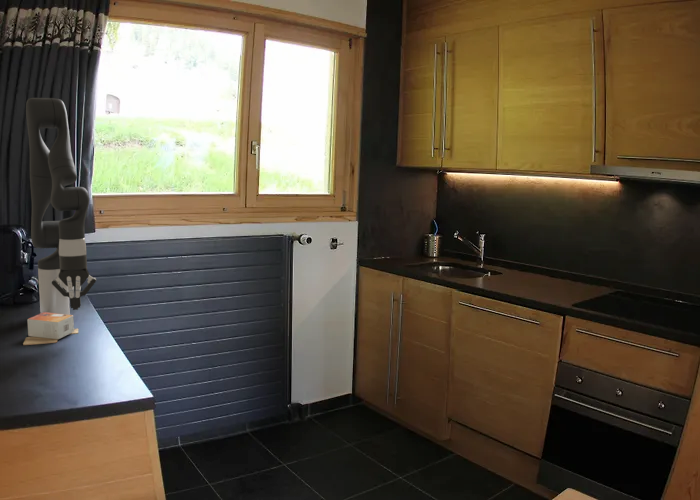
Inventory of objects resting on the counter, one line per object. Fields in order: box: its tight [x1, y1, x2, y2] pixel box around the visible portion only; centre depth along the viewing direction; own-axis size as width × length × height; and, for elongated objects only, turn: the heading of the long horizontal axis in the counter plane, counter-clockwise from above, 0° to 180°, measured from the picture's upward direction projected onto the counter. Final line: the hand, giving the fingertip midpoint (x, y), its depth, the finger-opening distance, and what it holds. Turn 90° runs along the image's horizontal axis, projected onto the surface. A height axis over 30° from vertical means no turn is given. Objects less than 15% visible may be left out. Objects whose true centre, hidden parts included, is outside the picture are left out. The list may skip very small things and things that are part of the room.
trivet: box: [22, 336, 59, 346], centre depth 189 cm, size 7×9×1 cm
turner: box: [69, 328, 79, 335], centre depth 197 cm, size 14×5×1 cm, turn 113°
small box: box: [27, 312, 75, 340], centre depth 193 cm, size 8×6×10 cm
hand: (75, 309), depth 191 cm, fingers closed
